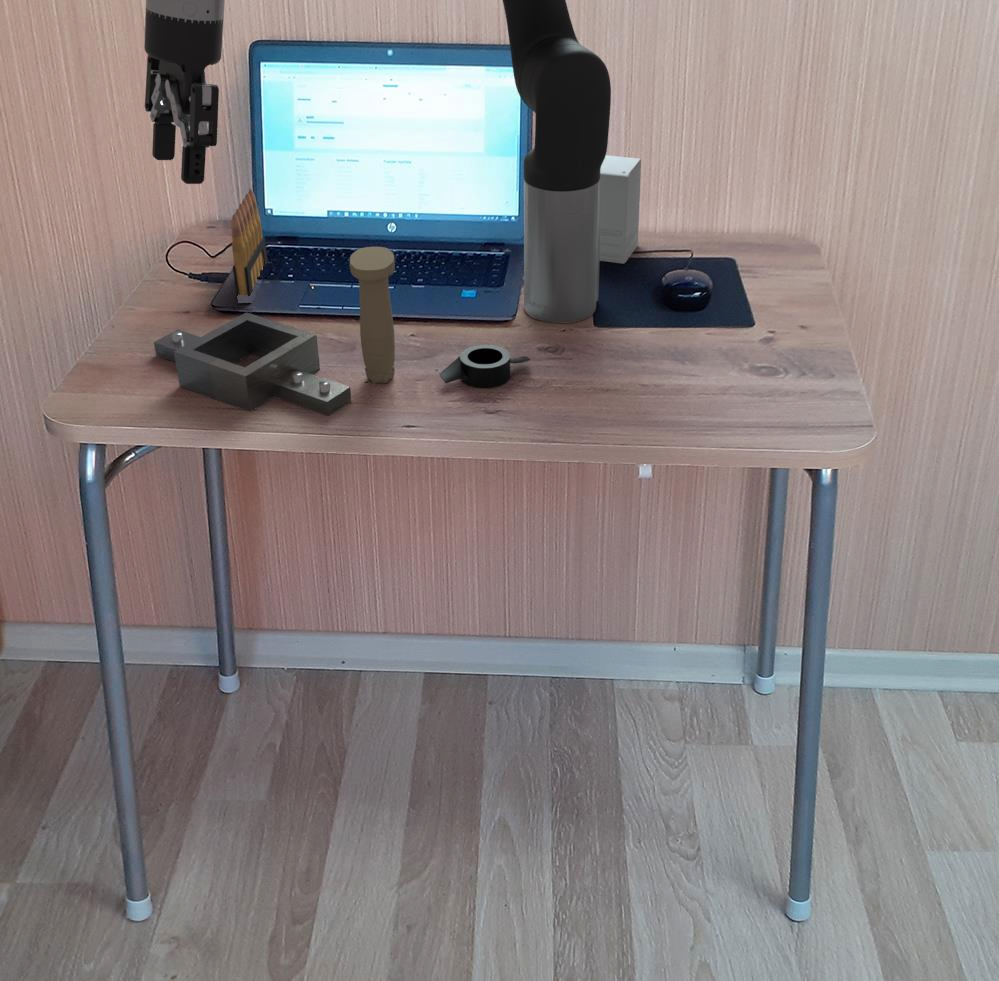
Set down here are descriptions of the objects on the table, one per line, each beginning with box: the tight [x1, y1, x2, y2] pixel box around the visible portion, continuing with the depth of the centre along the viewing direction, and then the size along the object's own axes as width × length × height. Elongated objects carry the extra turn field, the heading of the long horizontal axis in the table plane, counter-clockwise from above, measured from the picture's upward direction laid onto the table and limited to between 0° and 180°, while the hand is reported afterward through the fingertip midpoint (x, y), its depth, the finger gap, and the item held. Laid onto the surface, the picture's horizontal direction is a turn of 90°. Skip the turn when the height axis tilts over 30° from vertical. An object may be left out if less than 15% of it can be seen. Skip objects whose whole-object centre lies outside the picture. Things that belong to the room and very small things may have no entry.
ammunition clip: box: [231, 188, 269, 297], centre depth 170 cm, size 11×2×12 cm, turn 176°
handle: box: [349, 246, 396, 384], centre depth 148 cm, size 5×6×15 cm
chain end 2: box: [209, 322, 352, 417], centre depth 148 cm, size 14×12×4 cm
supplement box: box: [598, 154, 642, 265], centre depth 178 cm, size 7×7×13 cm
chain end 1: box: [153, 312, 281, 400], centre depth 154 cm, size 14×12×4 cm
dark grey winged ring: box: [439, 344, 531, 390], centre depth 151 cm, size 8×10×3 cm
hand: (177, 170), depth 136 cm, fingers open, 8 cm apart
